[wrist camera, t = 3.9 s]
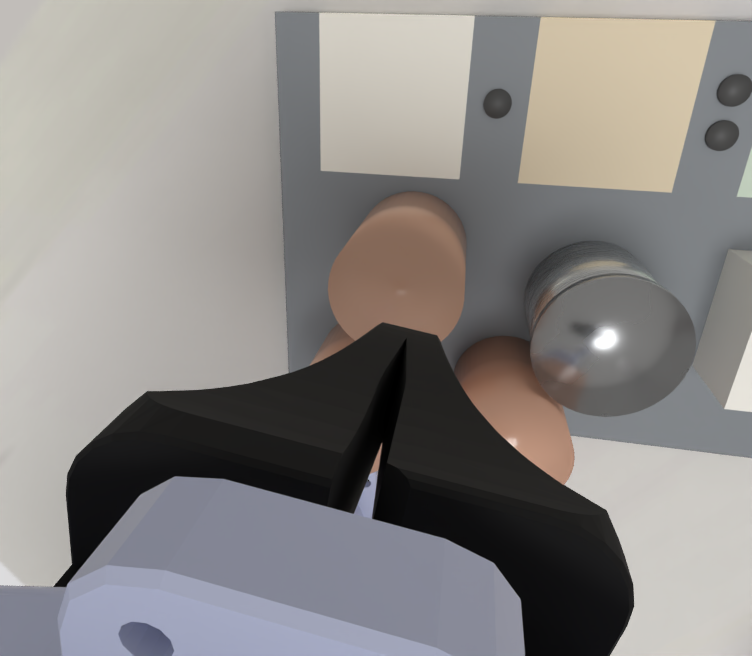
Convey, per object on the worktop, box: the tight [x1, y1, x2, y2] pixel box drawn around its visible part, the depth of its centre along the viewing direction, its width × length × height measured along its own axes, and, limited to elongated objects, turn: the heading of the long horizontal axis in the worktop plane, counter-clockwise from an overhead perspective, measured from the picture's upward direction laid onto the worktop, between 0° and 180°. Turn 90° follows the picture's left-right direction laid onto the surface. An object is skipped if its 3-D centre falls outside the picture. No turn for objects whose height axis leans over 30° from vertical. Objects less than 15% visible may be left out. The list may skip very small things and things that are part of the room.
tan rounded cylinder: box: [328, 191, 467, 341], centre depth 18 cm, size 4×4×5 cm
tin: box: [524, 241, 696, 417], centre depth 18 cm, size 5×5×4 cm
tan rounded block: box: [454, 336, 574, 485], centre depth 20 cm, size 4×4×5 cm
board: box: [275, 12, 752, 458], centre depth 20 cm, size 15×22×1 cm
